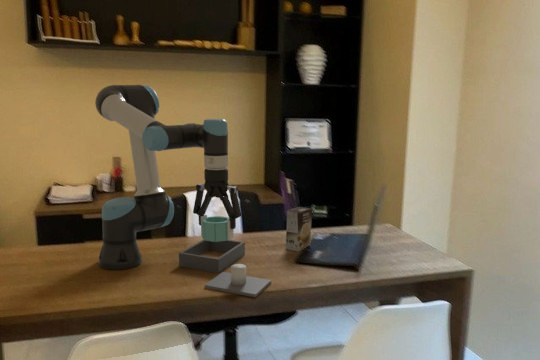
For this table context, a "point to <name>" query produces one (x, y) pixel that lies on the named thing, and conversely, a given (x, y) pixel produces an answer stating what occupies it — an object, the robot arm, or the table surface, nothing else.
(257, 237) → the table surface
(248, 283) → the stand
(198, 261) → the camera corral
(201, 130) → the robot arm
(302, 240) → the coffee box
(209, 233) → the collar
